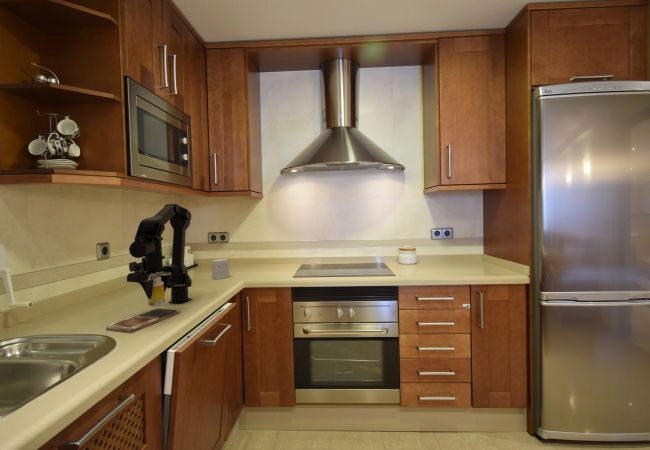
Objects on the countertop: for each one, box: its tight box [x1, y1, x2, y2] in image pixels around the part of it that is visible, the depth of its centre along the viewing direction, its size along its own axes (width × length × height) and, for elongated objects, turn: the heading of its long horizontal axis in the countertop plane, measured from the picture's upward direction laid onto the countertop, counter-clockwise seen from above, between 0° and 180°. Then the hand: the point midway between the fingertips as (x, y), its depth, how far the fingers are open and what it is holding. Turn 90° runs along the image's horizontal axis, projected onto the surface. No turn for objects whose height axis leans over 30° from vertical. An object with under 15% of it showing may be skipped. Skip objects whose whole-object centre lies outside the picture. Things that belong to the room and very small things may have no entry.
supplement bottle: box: [147, 275, 166, 307], centre depth 123 cm, size 6×6×10 cm
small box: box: [210, 258, 230, 280], centre depth 191 cm, size 8×6×10 cm
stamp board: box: [105, 308, 181, 334], centre depth 119 cm, size 21×11×1 cm, turn 160°
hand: (156, 296), depth 123 cm, fingers closed on supplement bottle, 5 cm apart
